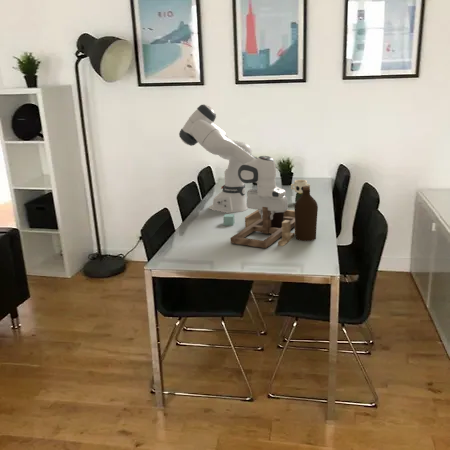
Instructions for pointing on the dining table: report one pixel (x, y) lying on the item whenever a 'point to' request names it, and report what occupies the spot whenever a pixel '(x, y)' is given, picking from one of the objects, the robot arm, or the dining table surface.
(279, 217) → the coffee mug
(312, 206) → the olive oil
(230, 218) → the teal cube
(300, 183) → the character mug
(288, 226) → the tan blocky wooden part
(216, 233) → the dining table surface
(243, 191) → the robot arm
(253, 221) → the frame
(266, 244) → the brown rectangular open frame
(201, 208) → the dining table surface
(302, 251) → the dining table surface
